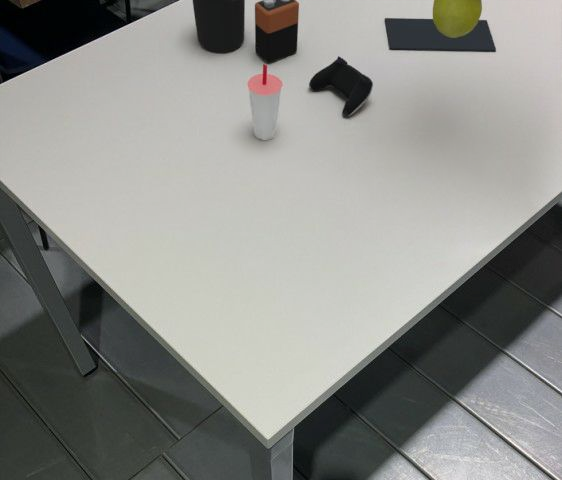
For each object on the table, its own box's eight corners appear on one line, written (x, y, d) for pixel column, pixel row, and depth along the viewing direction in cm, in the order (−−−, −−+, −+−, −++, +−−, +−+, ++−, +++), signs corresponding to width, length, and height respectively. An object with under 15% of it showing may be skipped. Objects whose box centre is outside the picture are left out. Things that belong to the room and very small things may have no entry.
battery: (254, 53, 114) (253, -4, 106) (284, 41, 116) (285, -15, 108) (267, 65, 112) (267, 8, 104) (298, 53, 115) (300, -3, 106)
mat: (486, 22, 121) (486, 19, 121) (495, 51, 116) (496, 49, 116) (384, 19, 121) (384, 17, 121) (389, 49, 116) (389, 47, 115)
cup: (266, 118, 105) (266, 50, 94) (287, 134, 103) (290, 66, 92) (242, 132, 103) (239, 64, 92) (263, 148, 101) (263, 80, 90)
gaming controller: (356, 125, 108) (382, 89, 105) (345, 116, 104) (372, 78, 101) (316, 93, 112) (340, 58, 109) (304, 83, 108) (329, 46, 105)
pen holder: (248, 53, 114) (247, -3, 106) (197, 56, 113) (192, 0, 105) (243, 24, 119) (241, -32, 110) (194, 27, 118) (188, -29, 110)
